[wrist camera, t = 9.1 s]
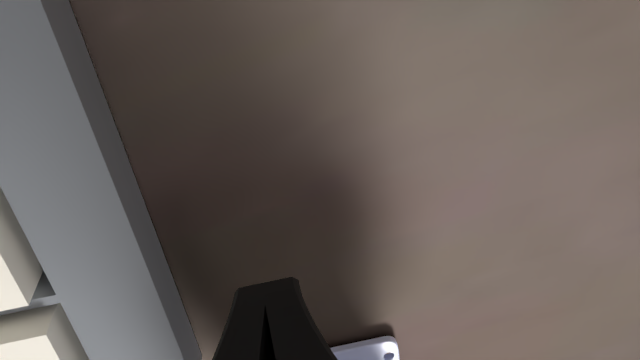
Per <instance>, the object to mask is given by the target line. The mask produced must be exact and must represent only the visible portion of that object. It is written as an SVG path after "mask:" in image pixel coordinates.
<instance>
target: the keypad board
mask: <svg viewBox="0 0 640 360" xmlns="http://www.w3.org/2000/svg"><path fill="white" fill-rule="evenodd" d="M0 187H1V189H2V191H3V193H4V195H5V197H6V198H7V200H8V202H9V204H10V206H11V208H12V210H13V212H14V214H15V216H16V218H17V220H18V222H19V224H20V226H21V228H22V230H23V231H24V233H25V235H26V237H27V239H28V241H29V243H30V245H31V247H32V249H33V251H34V253H35V255H36V257H37V259H38V261H39V263H40V264H41V266H42V268H43V272H42V275H41V277H40V280H39V282H38V284H37V287H36V289H35V292H34V294H33V296H32V299H31V301H30V304H29V306H24V307H19V308H15V309H10V310H5V311H0V315H5V314H10V313H14V312H19V311H24V310H29V309H34V308H38V307H43V306H48V305H53V304H57V303H61V305H62V307H63V309H64V311H65V313H66V315H67V317H68V319H69V321H70V323H71V325H72V327H73V329H74V331H75V332H76V334H77V336H78V338H79V340H80V342H81V344H82V346H83V348H84V350H85V352H86V354H87V356H88V358H89V360H202V354H201V352H200V349H199V346H198V344H197V341H196V338H195V336H194V333H193V330H192V328H191V325H190V322H189V320H188V317H187V314H186V312H185V309H184V306H183V304H182V301H181V298H180V296H179V293H178V290H177V288H176V285H175V282H174V280H173V277H172V274H171V272H170V269H169V266H168V264H167V261H166V258H165V256H164V253H163V250H162V248H161V245H160V242H159V240H158V237H157V234H156V232H155V229H154V226H153V224H152V221H151V218H150V216H149V213H148V210H147V208H146V205H145V202H144V200H143V197H142V194H141V192H140V189H139V186H138V184H137V181H136V178H135V176H134V173H133V170H132V168H131V165H130V162H129V160H128V157H127V154H126V152H125V149H124V146H123V144H122V141H121V138H120V136H119V133H118V130H117V128H116V125H115V122H114V120H113V117H112V114H111V112H110V109H109V106H108V104H107V101H106V98H105V96H104V93H103V90H102V88H101V85H100V82H99V80H98V77H97V74H96V72H95V69H94V66H93V64H92V61H91V58H90V56H89V53H88V50H87V48H86V45H85V42H84V40H83V37H82V34H81V32H80V29H79V26H78V24H77V21H76V19H75V16H74V13H73V11H72V8H71V5H70V3H69V0H0Z"/></svg>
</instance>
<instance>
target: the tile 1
mask: <svg viewBox="0 0 640 360" xmlns="http://www.w3.org/2000/svg"><path fill="white" fill-rule="evenodd" d="M42 272H43V268H42V266H41V264H40V263H39V261H38V259H37V257H36V255H35V253H34V251H33V249H32V247H31V245H30V243H29V241H28V239H27V237H26V235H25V233H24V231H23V230H22V228H21V226H20V224H19V222H18V220H17V218H16V216H15V214H14V212H13V210H12V208H11V206H10V204H9V202H8V200H7V198H6V197H5V195H4V193H3V191H2V189H1V187H0V311H5V310H10V309H15V308H19V307H24V306H29V304H30V301H31V299H32V296H33V294H34V292H35V289H36V287H37V284H38V282H39V280H40V277H41V275H42Z"/></svg>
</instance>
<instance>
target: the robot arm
mask: <svg viewBox="0 0 640 360" xmlns="http://www.w3.org/2000/svg"><path fill="white" fill-rule="evenodd" d="M388 352H391V353H389V354H386V353H388ZM212 360H400V357H399V350H398V345H397V341H396V339H395V338H394V337H392V336H383V337H378V338H374V339H369V340H364V341H360V342H355V343H350V344H346V345H341V346H336V347H332V348H329V346H328V345H327V343H326V341H325V340H324V338H323V336H322V335H321V333H320V331H319V330H318V328H317V326H316V325H315V323H314V321H313V319H312V317H311V315H310V313H309V311H308V309H307V307H306V305H305V302H304V300H303V297H302V294H301V290H300V286H299V282H298V280H297V279H295V278H293V277H289V278H285V279H280V280H275V281H270V282H266V283H261V284H256V285H251V286H247V287H242V288H239V289H238V290H237V291H236V292H235V295H234V300H233V303H232V307H231V310H230V313H229V317H228V320H227V323H226V325H225V328H224V331H223V334H222V337H221V339H220V342H219V344H218V347H217V349H216V352H215V354H214V357H213V359H212Z"/></svg>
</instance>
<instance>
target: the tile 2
mask: <svg viewBox="0 0 640 360" xmlns="http://www.w3.org/2000/svg"><path fill="white" fill-rule="evenodd" d="M0 360H89V358H88V356H87V354H86V352H85V350H84V348H83V346H82V344H81V342H80V340H79V338H78V336H77V334H76V332H75V331H74V329H73V327H72V325H71V323H70V321H69V319H68V317H67V315H66V313H65V311H64V309H63V307H62V305H61V303H57V304H53V305H48V306H43V307H38V308H34V309H29V310H24V311H19V312H14V313H10V314H5V315H0Z"/></svg>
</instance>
